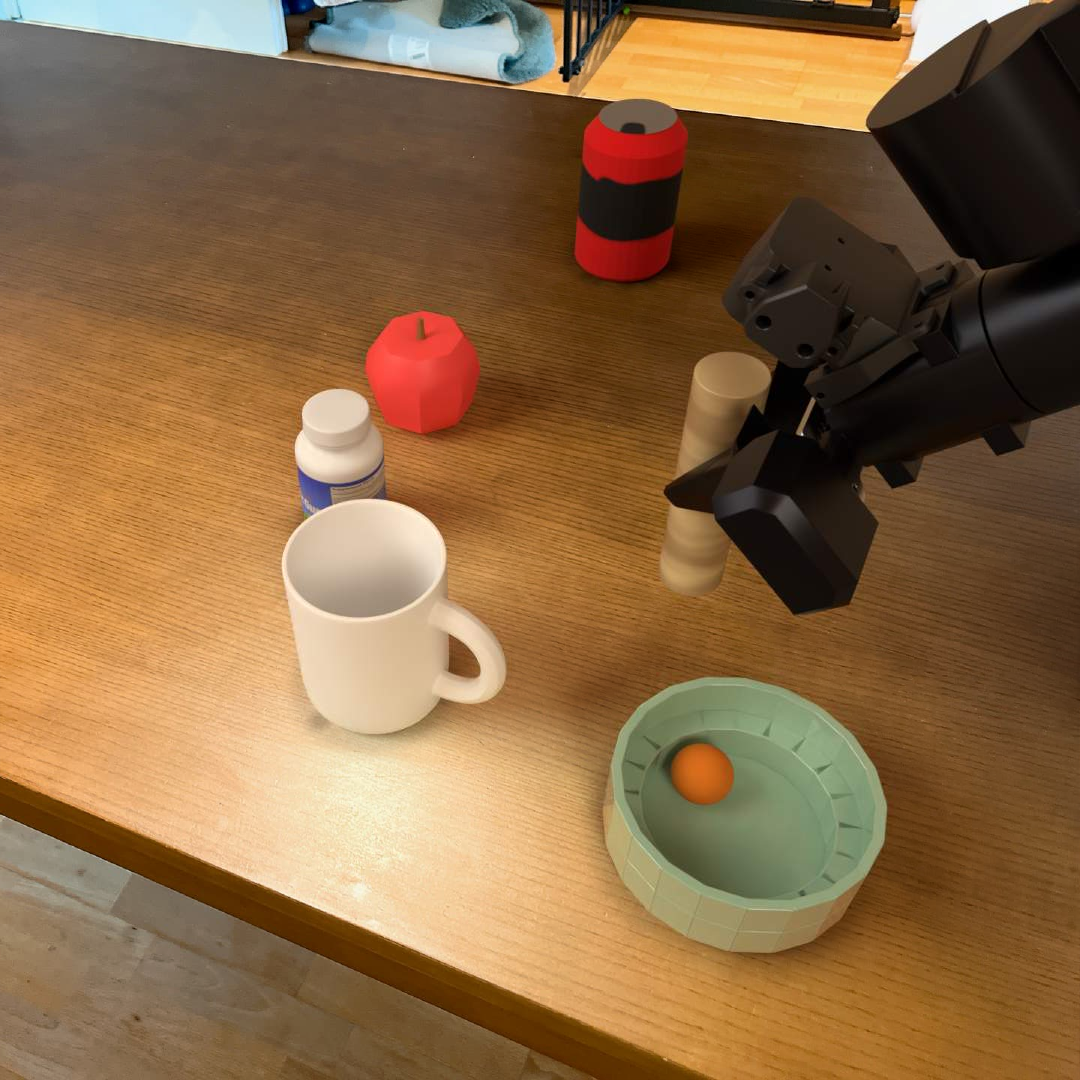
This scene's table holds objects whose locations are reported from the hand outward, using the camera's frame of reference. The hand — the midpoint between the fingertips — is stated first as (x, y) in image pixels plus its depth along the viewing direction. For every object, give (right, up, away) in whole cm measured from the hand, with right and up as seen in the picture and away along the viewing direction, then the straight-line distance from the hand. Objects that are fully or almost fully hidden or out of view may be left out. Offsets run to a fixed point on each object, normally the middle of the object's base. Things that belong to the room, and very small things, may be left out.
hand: (681, 473), depth 51 cm
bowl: (+3, -18, +2) cm, 18 cm away
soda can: (+6, +20, +37) cm, 42 cm away
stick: (+2, -5, +4) cm, 7 cm away
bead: (+2, -15, +2) cm, 15 cm away
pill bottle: (-16, -2, +18) cm, 25 cm away
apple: (-11, +6, +25) cm, 28 cm away
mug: (-13, -12, +9) cm, 20 cm away
